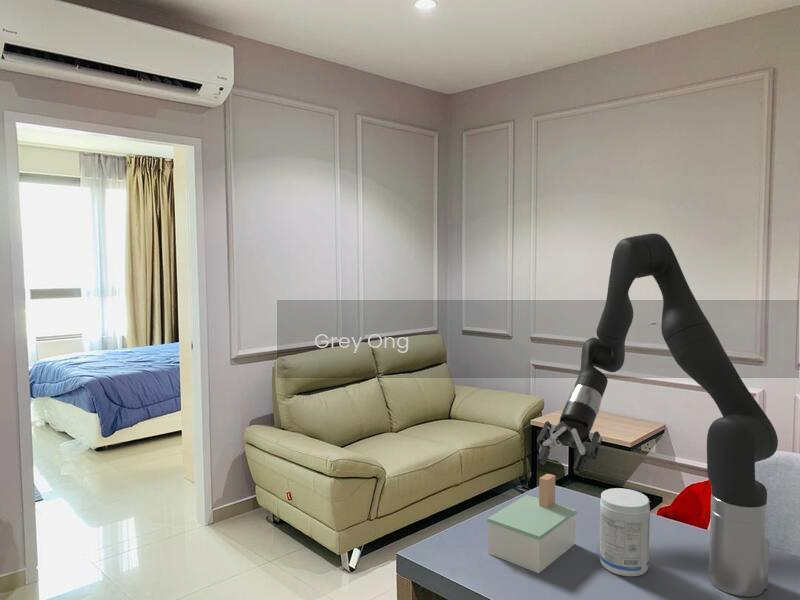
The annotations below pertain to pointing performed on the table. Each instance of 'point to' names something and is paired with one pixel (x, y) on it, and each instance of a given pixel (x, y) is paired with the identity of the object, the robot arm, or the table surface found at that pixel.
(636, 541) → the supplement tub
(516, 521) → the lid
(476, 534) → the table surface
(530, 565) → the parts tub
